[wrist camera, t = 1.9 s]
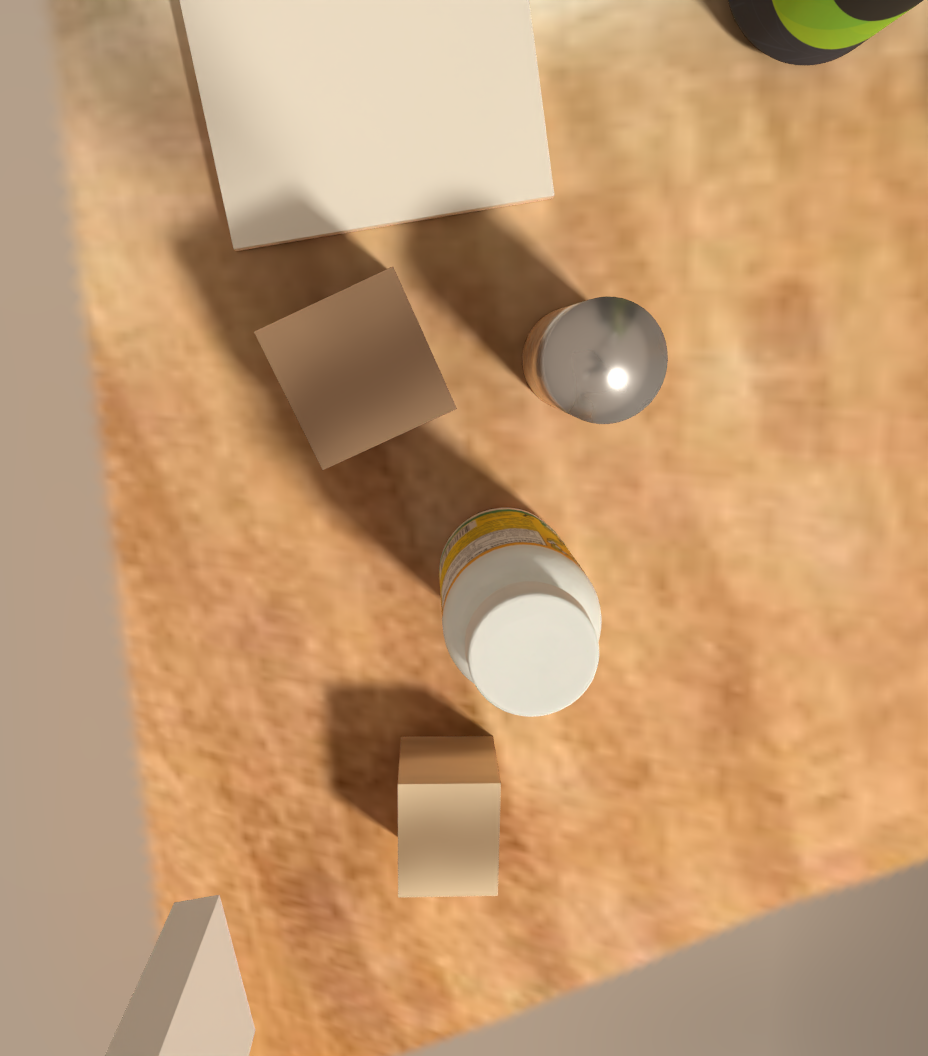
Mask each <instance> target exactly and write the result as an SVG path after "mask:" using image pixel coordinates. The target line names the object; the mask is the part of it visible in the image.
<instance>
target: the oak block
mask: <svg viewBox="0 0 928 1056" xmlns="http://www.w3.org/2000/svg"><path fill="white" fill-rule="evenodd" d="M500 795H501V781H500V775H499V769H498V763H497V757H496V752H495V746H494V740H493V736H413V737H401V744H400V759H399V773H398V897H450V896H498V869H499V832H500Z"/></svg>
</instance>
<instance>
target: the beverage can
mask: <svg viewBox="0 0 928 1056" xmlns="http://www.w3.org/2000/svg"><path fill="white" fill-rule="evenodd" d="M922 1H923V0H728V2H729V5H730V8H731V11H732V14H733V16H734V18H735V20H736V22H737V24H738V26H739V28H740V29H741V31H742V32H743V34H744V35H745V36H746V37H747V39H748V40H749V41H750V42H751V43H752V44H753V45H754V46H755V47H756V48H758V49H759V50H760V51H762V52H763V53H765V54H766V55H768V56H770V57H772V58H774V59H776V60H778V61H781V62H785V63H788V64H794V65H816V64H821V63H826V62H829V61H832V60H834V59H837V58H839V57H841V56H843V55H845V54H847V53H849V52H850V51H852V50H853V49H855V48H856V47H858V46H859V45H860V44H862V43H863V42H865V41H866V40H868V39H869V38H870V37H872V36H873V35H875V34H876V33H878V32H879V31H880V30H882V29H883V28H885V27H886V26H888V25H889V24H890V23H892V22H893V21H895V20H896V19H897V18H899V17H900V16H902V15H903V14H905V13H906V12H907V11H909V10H910V9H912V8H913V7H915V6H916V5H917V4H919V3H920V2H922Z"/></svg>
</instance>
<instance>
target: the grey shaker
mask: <svg viewBox="0 0 928 1056" xmlns="http://www.w3.org/2000/svg"><path fill="white" fill-rule="evenodd" d="M667 361H668V355H667V346H666V341H665V338H664V335H663V333H662V331H661V328H660V327H659V325H658V323H657V322H656V320H655V319H654V318H653V317H652V316H651V315H650V314H649V313H648V312H647V311H646V310H645V309H644V308H642V307H641V306H639V305H638V304H636V303H634V302H632V301H629V300H626V299H623V298H617V297H599V298H594V299H590V300H587V301H583V302H580V303H577V304H573V305H570V306H567V307H563V308H560V309H557V310H555V311H552V312H551V313H549V314H547V315H546V316H544V317H543V318H541V319H540V320H539V321H538V322H537V323H536V324H535V326H534V327H533V328H532V330H531V331H530V333H529V334H528V337H527V339H526V341H525V344H524V348H523V354H522V365H523V371H524V375H525V378H526V381H527V383H528V385H529V387H530V388H531V390H532V391H533V392H534V393H535V395H536V396H537V397H538V398H540V399H541V400H542V401H543V402H545V403H547V404H548V405H550V406H553V407H555V408H557V409H559V410H561V411H564V412H566V413H568V414H570V415H572V416H574V417H577V418H579V419H581V420H584V421H587V422H590V423H596V424H610V423H616V422H620V421H623V420H626V419H629V418H631V417H632V416H634V415H636V414H638V413H639V412H640V411H642V410H643V409H644V408H645V407H646V406H648V405H649V404H650V402H651V401H652V400H653V399H654V398H655V396H656V395H657V393H658V391H659V390H660V388H661V386H662V383H663V381H664V378H665V374H666V370H667Z"/></svg>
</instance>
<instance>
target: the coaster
mask: <svg viewBox="0 0 928 1056" xmlns="http://www.w3.org/2000/svg"><path fill="white" fill-rule="evenodd" d="M180 5H181V10H182V14H183V19H184V23H185V28H186V33H187V37H188V42H189V46H190V51H191V56H192V60H193V65H194V69H195V74H196V79H197V83H198V88H199V92H200V97H201V102H202V106H203V111H204V115H205V120H206V125H207V129H208V134H209V138H210V143H211V148H212V152H213V157H214V161H215V166H216V171H217V175H218V180H219V184H220V189H221V194H222V198H223V203H224V207H225V212H226V217H227V221H228V226H229V230H230V235H231V240H232V244H233V249H234V250H236V251H240V250H246V249H252V248H258V247H264V246H270V245H276V244H282V243H288V242H294V241H300V240H306V239H312V238H318V237H324V236H330V235H336V234H342V233H348V232H354V231H360V230H366V229H372V228H378V227H384V226H390V225H396V224H402V223H408V222H414V221H420V220H426V219H432V218H438V217H444V216H450V215H456V214H462V213H468V212H474V211H480V210H486V209H492V208H498V207H504V206H510V205H516V204H522V203H528V202H534V201H540V200H546V199H552V198H553V197H554V189H553V181H552V173H551V165H550V158H549V150H548V142H547V135H546V127H545V119H544V111H543V104H542V96H541V88H540V80H539V73H538V65H537V57H536V50H535V42H534V34H533V26H532V19H531V11H530V3H529V0H180Z"/></svg>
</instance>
